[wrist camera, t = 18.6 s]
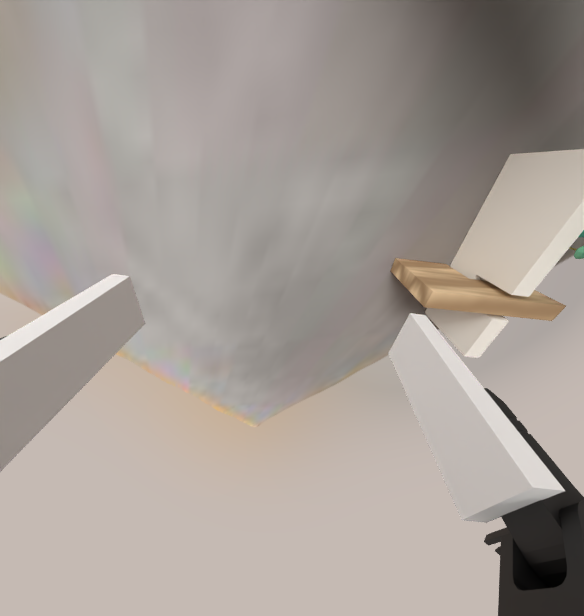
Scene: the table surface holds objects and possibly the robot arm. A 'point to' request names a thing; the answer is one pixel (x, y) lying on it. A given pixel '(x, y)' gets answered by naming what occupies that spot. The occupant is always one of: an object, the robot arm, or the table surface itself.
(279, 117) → the table surface
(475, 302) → the tan faceted tapered block
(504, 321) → the cream slotted board
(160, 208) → the table surface
